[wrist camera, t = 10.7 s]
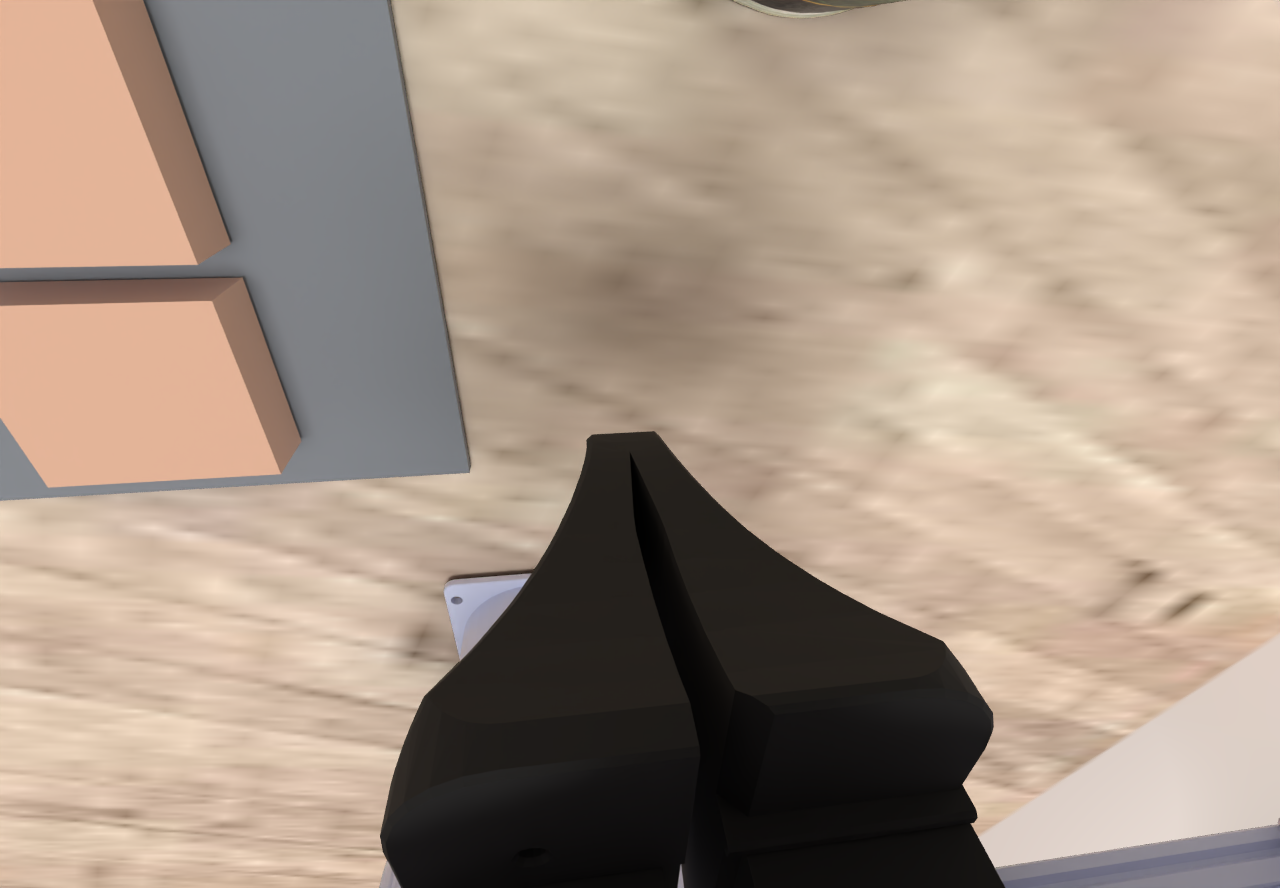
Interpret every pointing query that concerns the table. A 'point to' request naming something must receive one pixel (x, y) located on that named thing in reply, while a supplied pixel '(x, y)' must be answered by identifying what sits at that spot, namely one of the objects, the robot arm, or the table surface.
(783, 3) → the coffee can
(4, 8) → the tile
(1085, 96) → the table surface
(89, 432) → the tile
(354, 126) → the slate mat
